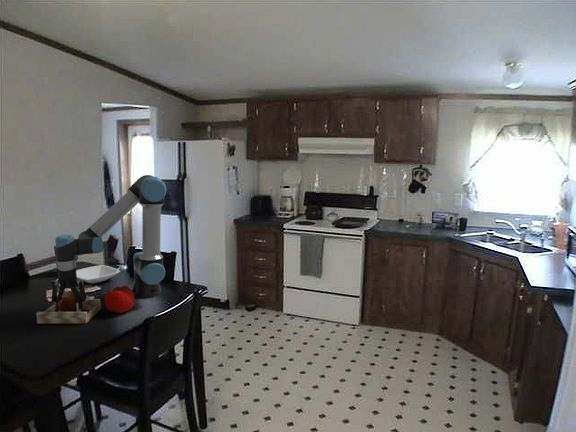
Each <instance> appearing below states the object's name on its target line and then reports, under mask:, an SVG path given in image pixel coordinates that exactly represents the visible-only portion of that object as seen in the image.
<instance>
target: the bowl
mask: <svg viewBox="0 0 576 432" xmlns="http://www.w3.org/2000/svg"><path fill="white" fill-rule="evenodd" d="M120 272H121V270H119V269H118V268H115V267H112V266H110V265H104V264H99V265H94V266H89V267H88V266H87V267H84V268H83V267H82V268H80V269H76V274H77V276H76V277H77V279H78V280H84V283H87V284H92V285H93V284H94V285H95V284H99V283H102V282H105V281H107V280H108V279H110V278H113V277H115V276H116V275H117V274H119V273H120Z"/></svg>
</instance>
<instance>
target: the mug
mask: <svg viewBox="0 0 576 432" xmlns="http://www.w3.org/2000/svg"><path fill="white" fill-rule="evenodd" d="M78 291H79V290H78ZM79 293H80V291H79ZM60 297H61V300H59V302H58V308H59V310H60V311H61V312H77V307H76V303H77V302H78V301H77V299H76V297H75V296H74V294H73V292H72V290H68V291H64V293H63V296H60ZM61 303H62V306H61ZM62 308H63V309H62ZM59 310H58V311H59Z"/></svg>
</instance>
